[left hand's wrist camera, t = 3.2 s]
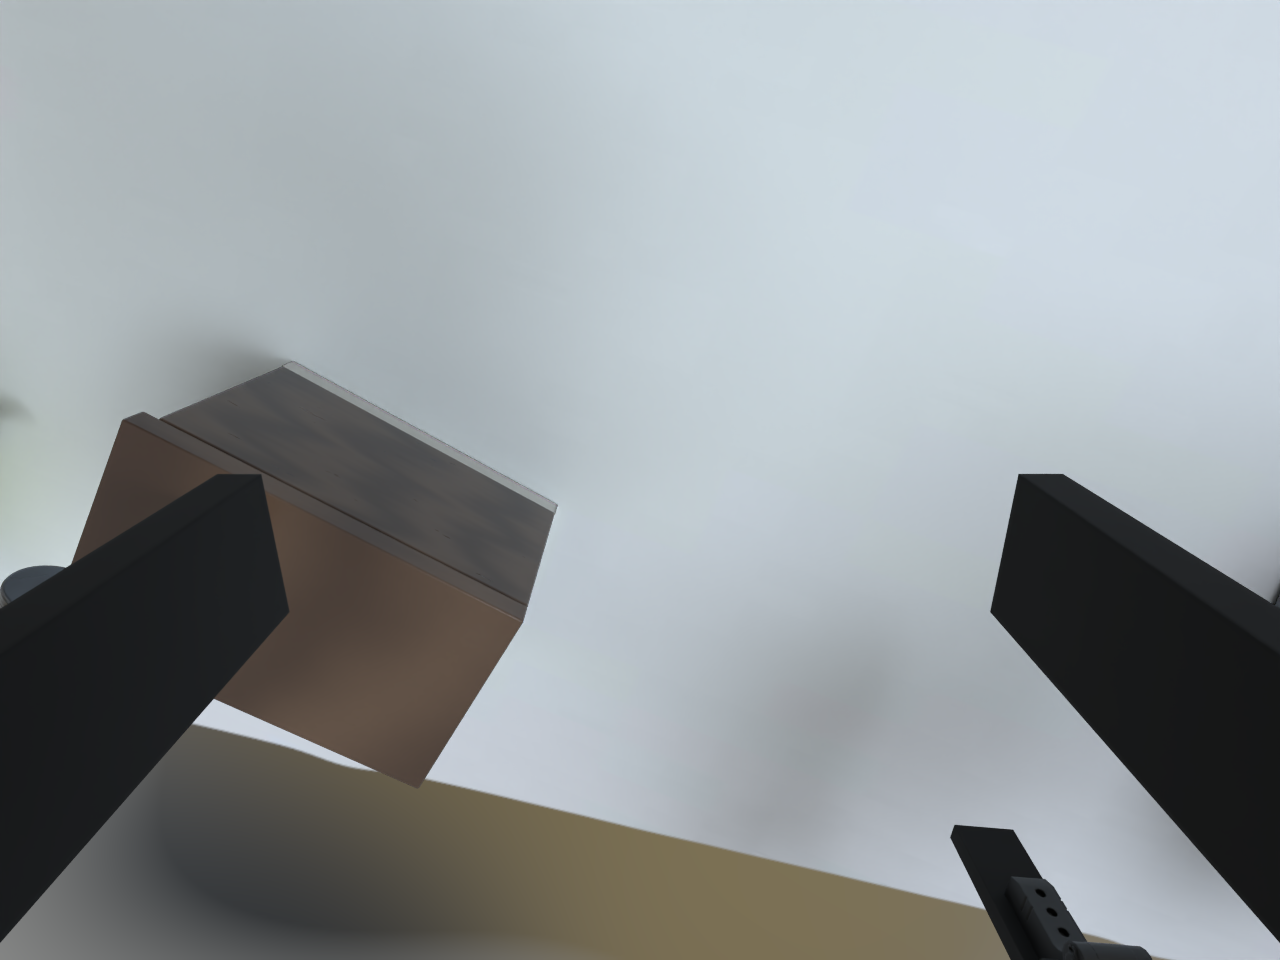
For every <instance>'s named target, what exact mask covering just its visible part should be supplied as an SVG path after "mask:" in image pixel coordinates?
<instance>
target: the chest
mask: <svg viewBox="0 0 1280 960" xmlns="http://www.w3.org/2000/svg"><path fill="white" fill-rule="evenodd" d="M159 420H161V421H163V422H165V423H167V424H169V425H171V426H172V427H174V428H176V429H178V430H180V431H182V432H184V433H186V434H188V435H190V436H192V437H194V438H196V439H198V440H200V441H202V442H204V443H206V444H208V445H210V446H212V447H214V448H216V449H218V450H220V451H222V452H224V453H226V454H228V455H229V456H231V457H233V458H235V459H237V460H239V461H241V462H243V463H245V464H247V465H249V466H251V467H253V468H255V469H257V470H259V471H261V472H263V473H265V474H267V475H269V476H271V477H273V478H275V479H277V480H279V481H281V482H283V483H284V484H286V485H288V486H290V487H292V488H294V489H296V490H298V491H300V492H302V493H304V494H306V495H308V496H310V497H312V498H314V499H316V500H318V501H320V502H322V503H324V504H326V505H328V506H330V507H332V508H334V509H336V510H338V511H340V512H341V513H343V514H345V515H347V516H349V517H351V518H353V519H355V520H357V521H359V522H361V523H363V524H365V525H367V526H369V527H371V528H373V529H375V530H377V531H379V532H381V533H383V534H385V535H387V536H389V537H391V538H393V539H395V540H397V541H398V542H400V543H402V544H404V545H406V546H408V547H410V548H412V549H414V550H416V551H418V552H420V553H422V554H424V555H426V556H428V557H430V558H432V559H434V560H436V561H438V562H440V563H442V564H444V565H446V566H448V567H450V568H452V569H453V570H455V571H457V572H459V573H461V574H463V575H465V576H467V577H469V578H471V579H473V580H475V581H477V582H479V583H481V584H483V585H485V586H487V587H489V588H491V589H493V590H495V591H497V592H499V593H501V594H503V595H505V596H507V597H509V598H510V599H512V600H514V601H516V602H518V603H520V604H522V605H524V606H526V607H528V603H529V600H530V596H531V593H532V590H533V586H534V583H535V579H536V576H537V572H538V569H539V566H540V562H541V559H542V555H543V552H544V548H545V545H546V542H547V538H548V535H549V531H550V528H551V524H552V521H553V518H554V515H555V513H556V509H557V506H558V505H557V504H555V503H553V502H551V501H550V500H548V499H546V498H544V497H542V496H540V495H539V494H537V493H535V492H533V491H531V490H529V489H527V488H526V487H524V486H522V485H520V484H518V483H516V482H515V481H513V480H511V479H509V478H507V477H505V476H504V475H502V474H500V473H498V472H496V471H494V470H492V469H491V468H489V467H487V466H485V465H483V464H481V463H480V462H478V461H476V460H474V459H472V458H470V457H469V456H467V455H465V454H463V453H461V452H459V451H457V450H456V449H454V448H452V447H450V446H448V445H446V444H445V443H443V442H441V441H439V440H437V439H435V438H434V437H432V436H430V435H428V434H426V433H424V432H423V431H421V430H419V429H417V428H415V427H413V426H411V425H410V424H408V423H406V422H404V421H402V420H400V419H399V418H397V417H395V416H393V415H391V414H389V413H388V412H386V411H384V410H382V409H380V408H378V407H376V406H375V405H373V404H371V403H369V402H367V401H365V400H364V399H362V398H360V397H358V396H356V395H354V394H353V393H351V392H349V391H347V390H345V389H343V388H341V387H340V386H338V385H336V384H334V383H332V382H330V381H329V380H327V379H325V378H323V377H321V376H319V375H318V374H316V373H314V372H312V371H310V370H308V369H306V368H305V367H303V366H301V365H299V364H297V363H295V362H294V361H292V362H290V363H288V364H285V365H283V366H282V367H281V368H278V369H276V370H273V371H271V372H269V373H266V374H264V375H262V376H259V377H257V378H254V379H252V380H250V381H247V382H245V383H242V384H240V385H238V386H235V387H233V388H231V389H228V390H226V391H223V392H221V393H219V394H216V395H214V396H212V397H209V398H207V399H204V400H202V401H200V402H197V403H195V404H193V405H190V406H188V407H185V408H183V409H181V410H178V411H176V412H174V413H171V414H169V415H166V416H164V417H162V418H160V419H159Z"/></svg>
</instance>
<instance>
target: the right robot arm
mask: <svg viewBox="0 0 1280 960" xmlns="http://www.w3.org/2000/svg"><path fill="white" fill-rule="evenodd" d="M1275 606H1276V607H1278V608H1280V595H1279V597H1278V599H1277V602H1276V604H1275ZM950 838H951V840H952V842H953V844H954V846H955V848H956V850H957V852H958V854H959V856H960V858H961V860H962V862H963V864H964V866H965V868H966V870H967V872H968V874H969V876H970V878H971V880H972V882H973V884H974V886H975V888H976V890H977V892H978V894H979V896H980V898H981V900H982V902H983V905H984V907H985V909H986V911H987V912H988V915H989V917H990V919H991V921H992V923H993V925H994V927H995V929H996V931H997V933H998V935H999V937H1000V939H1001V941H1002V943H1003V945H1004V947H1005V949H1006V951H1007V953H1008V955H1009V957H1010V959H1011V960H1152V958H1151V956H1150V955H1149V954H1148V952H1147V951H1146V950H1145V949H1143V948H1142V947H1140V946H1128V945H1120V944H1107V943H1094V942H1087V941H1086V939H1085V937H1084V936H1083V934H1082V932H1081V931H1080V929H1079V928H1078V926H1077V924H1076V923H1075V921H1074V919H1073V918H1072V916H1071V914H1070V913H1069V911H1067V908H1066V906H1065V905H1064V903H1063V901H1061V898H1060V896H1059V895H1058V893H1057V892H1056V890H1055V888H1054V887H1053V886H1052V885H1051V884H1050V883H1049V882H1048V881H1047V880H1046V879H1042V877H1041V875H1040V874H1039V872H1038V870H1037V869H1036V867H1035V865H1034V864H1033V862H1032V860H1031V859H1030V857H1029V855H1028V854H1027V852H1026V850H1025V849H1024V847H1023V845H1022V844H1021V842H1020V840H1019V839H1018V837H1017V835H1016V834H1015V832H1014V830H1010V829H998V828H986V827H974V826H962V825H954V828H953V831H952V834H951V837H950Z"/></svg>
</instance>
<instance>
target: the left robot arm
mask: <svg viewBox="0 0 1280 960" xmlns="http://www.w3.org/2000/svg"><path fill="white" fill-rule="evenodd" d="M289 612H290V611H289V606H288V602H287V597H286V592H285V587H284V582H283V577H282V572H281V567H280V563H279V558H278V553H277V548H276V543H275V538H274V533H273V528H272V523H271V519H270V514H269V509H268V504H267V499H266V494H265V489H264V484H263V480H262V475H261V474H216V475H215V476H213V477H212V478H210V479H208V480H207V481H205V482H204V483H202V484H200V485H199V486H197V487H195V488H194V489H192V490H191V491H189V492H187V493H186V494H184V495H183V496H181V497H179V498H178V499H176V500H175V501H173V502H171V503H170V504H168V505H166V506H165V507H163V508H162V509H160V510H158V511H157V512H155V513H154V514H152V515H150V516H149V517H147V518H146V519H144V520H142V521H141V522H139V523H137V524H136V525H134V526H133V527H131V528H129V529H128V530H126V531H125V532H123V533H121V534H120V535H118V536H116V537H115V538H113V539H112V540H110V541H108V542H107V543H105V544H104V545H102V546H100V547H99V548H97V549H96V550H94V551H92V552H91V553H89V554H87V555H86V556H84V557H83V558H81V559H79V560H78V561H76V562H75V563H73V564H71V565H70V566H68V567H67V568H65V569H63V570H62V571H60V572H58V573H57V574H55V575H54V576H52V577H50V578H49V579H47V580H46V581H44V582H42V583H41V584H39V585H38V586H36V587H34V588H33V589H31V590H29V591H28V592H26V593H25V594H23V595H21V596H20V597H18V598H17V599H15V600H13V601H12V602H10V603H9V604H7V605H5V606H4V607H2V608H0V942H1V941H2V940H3V939H4V938H5V937H6V935H7V934H8V933H9V932H10V931H11V930H12V929H13V927H14V926H15V925H16V924H17V923H18V922H19V921H20V919H21V918H22V917H23V916H24V915H25V914H26V913H27V911H28V910H29V909H30V908H31V907H32V906H33V905H34V903H35V902H36V901H37V900H38V899H39V898H40V897H41V895H42V894H43V893H44V892H45V891H46V890H47V889H48V887H49V886H50V885H51V884H52V883H53V882H54V881H55V879H56V878H57V877H58V876H59V875H60V874H61V873H62V871H63V870H64V869H65V868H66V867H67V866H68V865H69V863H70V862H71V861H72V860H73V859H74V858H75V857H76V856H77V854H78V853H79V852H80V851H81V850H82V849H83V848H84V846H85V845H86V844H87V843H88V842H89V841H90V839H91V838H92V837H93V836H94V835H95V834H96V833H97V832H98V830H99V829H100V828H101V827H102V826H103V825H104V823H105V822H106V821H107V820H108V819H109V818H110V817H111V816H112V814H113V813H114V812H115V811H116V810H117V809H118V807H119V806H120V805H121V804H122V803H123V802H124V801H125V800H126V798H127V797H128V796H129V795H130V794H131V793H132V791H133V790H134V789H135V788H136V787H137V786H138V785H139V783H140V782H141V781H142V780H143V779H144V778H145V777H146V776H147V774H148V773H149V772H150V771H151V770H152V769H153V768H154V766H155V765H156V764H157V763H158V762H159V761H160V760H161V758H162V757H163V756H164V755H165V754H166V753H167V752H168V750H169V749H170V748H171V747H172V746H173V745H174V744H175V742H176V741H177V740H178V739H179V738H180V737H181V736H182V734H183V733H184V732H185V731H186V730H187V729H188V728H189V726H190V725H191V724H192V723H193V722H194V721H195V720H196V718H197V717H198V716H199V715H200V714H201V713H202V712H203V710H204V709H205V708H206V707H207V706H208V705H209V704H210V702H211V701H212V700H213V699H214V698H215V697H216V696H217V694H218V693H219V692H220V691H221V690H222V689H223V688H224V686H225V685H226V684H227V683H228V682H229V681H230V680H231V678H232V677H233V676H234V675H235V674H236V673H237V672H238V670H239V669H240V668H241V667H242V666H243V665H244V664H245V662H246V661H247V660H248V659H249V658H250V657H251V656H252V654H253V653H254V652H255V651H256V650H257V649H258V648H259V646H260V645H261V644H262V643H263V642H264V641H265V640H266V638H267V637H268V636H269V635H270V634H271V633H272V632H273V630H274V629H275V628H276V627H277V626H278V625H279V624H280V622H281V621H282V620H283V619H284V618H285V617H286V616H287V614H288V613H289ZM990 612H991V613H992V614H993V616H994V617H995V618H996V619H997V620H998V621H999V622H1000V624H1001V625H1002V626H1003V627H1004V628H1005V629H1006V630H1007V632H1008V633H1009V634H1010V635H1011V636H1012V637H1013V638H1014V640H1015V641H1016V642H1017V643H1018V644H1019V645H1020V646H1021V648H1022V649H1023V650H1024V651H1025V652H1026V653H1027V654H1028V656H1029V657H1030V658H1031V659H1032V660H1033V661H1034V662H1035V664H1036V665H1037V666H1038V667H1039V668H1040V669H1041V670H1042V672H1043V673H1044V674H1045V675H1046V676H1047V677H1048V678H1049V680H1050V681H1051V682H1052V683H1053V684H1054V685H1055V686H1056V688H1057V689H1058V690H1059V691H1060V692H1061V693H1062V694H1063V696H1064V697H1065V698H1066V699H1067V700H1068V701H1069V702H1070V704H1071V705H1072V706H1073V707H1074V708H1075V709H1076V710H1077V712H1078V713H1079V714H1080V715H1081V716H1082V717H1083V718H1084V720H1085V721H1086V722H1087V723H1088V724H1089V725H1090V726H1091V728H1092V729H1093V730H1094V731H1095V732H1096V733H1097V734H1098V736H1099V737H1100V738H1101V739H1102V740H1103V741H1104V742H1105V744H1106V745H1107V746H1108V747H1109V748H1110V749H1111V750H1112V752H1113V753H1114V754H1115V755H1116V756H1117V757H1118V758H1119V760H1120V761H1121V762H1122V763H1123V764H1124V765H1125V766H1126V768H1127V769H1128V770H1129V771H1130V772H1131V773H1132V774H1133V776H1134V777H1135V778H1136V779H1137V780H1138V781H1139V782H1140V784H1141V785H1142V786H1143V787H1144V788H1145V789H1146V790H1147V792H1148V793H1149V794H1150V795H1151V796H1152V797H1153V798H1154V800H1155V801H1156V802H1157V803H1158V804H1159V805H1160V806H1161V808H1162V809H1163V810H1164V811H1165V812H1166V813H1167V814H1168V816H1169V817H1170V818H1171V819H1172V820H1173V821H1174V822H1175V824H1176V825H1177V826H1178V827H1179V828H1180V829H1181V830H1182V832H1183V833H1184V834H1185V835H1186V836H1187V837H1188V838H1189V840H1190V841H1191V842H1192V843H1193V844H1194V845H1195V846H1196V848H1197V849H1198V850H1199V851H1200V852H1201V853H1202V854H1203V856H1204V857H1205V858H1206V859H1207V860H1208V861H1209V862H1210V863H1211V865H1212V866H1213V867H1214V868H1215V869H1216V870H1217V871H1218V873H1219V874H1220V875H1221V876H1222V877H1223V878H1224V879H1225V881H1226V882H1227V883H1228V884H1229V885H1230V886H1231V887H1232V889H1233V890H1234V891H1235V892H1236V893H1237V894H1238V895H1239V897H1240V898H1241V899H1242V900H1243V901H1244V902H1245V903H1246V905H1247V906H1248V907H1249V908H1250V909H1251V910H1252V911H1253V913H1254V914H1255V915H1256V916H1257V917H1258V918H1259V919H1260V921H1261V922H1262V923H1263V924H1264V925H1265V926H1266V927H1267V929H1268V930H1269V931H1270V932H1271V933H1272V934H1273V935H1274V937H1275V938H1276V939H1277V940H1278V941H1279V942H1280V608H1278V607H1276V606H1275V605H1273V604H1271V603H1270V602H1268V601H1267V600H1265V599H1263V598H1262V597H1260V596H1259V595H1257V594H1255V593H1254V592H1252V591H1251V590H1249V589H1247V588H1246V587H1244V586H1242V585H1241V584H1239V583H1238V582H1236V581H1234V580H1233V579H1231V578H1230V577H1228V576H1226V575H1225V574H1223V573H1222V572H1220V571H1218V570H1217V569H1215V568H1213V567H1212V566H1210V565H1209V564H1207V563H1205V562H1204V561H1202V560H1201V559H1199V558H1197V557H1196V556H1194V555H1193V554H1191V553H1189V552H1188V551H1186V550H1184V549H1183V548H1181V547H1180V546H1178V545H1176V544H1175V543H1173V542H1172V541H1170V540H1168V539H1167V538H1165V537H1164V536H1162V535H1160V534H1159V533H1157V532H1155V531H1154V530H1152V529H1151V528H1149V527H1147V526H1146V525H1144V524H1143V523H1141V522H1139V521H1138V520H1136V519H1134V518H1133V517H1131V516H1130V515H1128V514H1126V513H1125V512H1123V511H1122V510H1120V509H1118V508H1117V507H1115V506H1114V505H1112V504H1110V503H1109V502H1107V501H1105V500H1104V499H1102V498H1101V497H1099V496H1097V495H1096V494H1094V493H1093V492H1091V491H1089V490H1088V489H1086V488H1085V487H1083V486H1081V485H1080V484H1078V483H1076V482H1075V481H1073V480H1072V479H1070V478H1068V477H1067V476H1065V475H1064V474H1019V475H1018V480H1017V484H1016V489H1015V494H1014V499H1013V504H1012V509H1011V514H1010V519H1009V523H1008V528H1007V533H1006V538H1005V543H1004V548H1003V553H1002V558H1001V563H1000V567H999V572H998V577H997V582H996V587H995V592H994V597H993V602H992V606H991V611H990Z"/></svg>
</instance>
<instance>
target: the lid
mask: <svg viewBox="0 0 1280 960" xmlns="http://www.w3.org/2000/svg"><path fill="white" fill-rule="evenodd" d="M216 474H261V475H262V480H263V484H264V489H265V494H266V499H267V504H268V509H269V514H270V519H271V523H272V528H273V533H274V538H275V543H276V548H277V553H278V558H279V563H280V567H281V572H282V577H283V582H284V587H285V592H286V597H287V602H288V606H289V611H290V612H289V613H288V614H287V616H286V617H285V618H284V619H283V620H282V621H281V622H280V624H279V625H278V626H277V627H276V628H275V629H274V630H273V632H272V633H271V634H270V635H269V636H268V637H267V638H266V640H265V641H264V642H263V643H262V644H261V645H260V646H259V648H258V649H257V650H256V651H255V652H254V653H253V654H252V656H251V657H250V658H249V659H248V660H247V661H246V662H245V664H244V665H243V666H242V667H241V668H240V669H239V670H238V672H237V673H236V674H235V675H234V676H233V677H232V678H231V680H230V681H229V682H228V683H227V684H226V685H225V686H224V688H223V689H222V690H221V691H220V692H219V693H218V694H217V696H216V697H215V698H214V699H216V700H218V701H220V702H223V703H225V704H227V705H229V706H232V707H234V708H236V709H238V710H241V711H243V712H245V713H248V714H250V715H252V716H254V717H257V718H259V719H261V720H263V721H266V722H268V723H270V724H272V725H275V726H277V727H279V728H281V729H284V730H286V731H288V732H290V733H293V734H295V735H297V736H299V737H302V738H304V739H306V740H309V741H311V742H313V743H315V744H318V745H320V746H322V747H324V748H327V749H329V750H331V751H333V752H336V753H338V754H340V755H342V756H345V757H347V758H349V759H351V760H354V761H356V762H358V763H361V764H363V765H365V766H367V767H370V768H372V769H374V770H376V771H379V772H381V773H383V774H385V775H388V776H390V777H392V778H394V779H397V780H399V781H401V782H403V783H406V784H408V785H410V786H413V787H415V788H419V787H420V785H421V784H422V782H423V781H424V779H425V777H426V776H427V774H428V773H429V771H430V769H431V768H432V766H433V765H434V763H435V761H436V760H437V758H438V757H439V755H440V754H441V752H442V750H443V749H444V747H445V746H446V744H447V742H448V741H449V739H450V738H451V736H452V734H453V733H454V731H455V730H456V728H457V726H458V725H459V723H460V722H461V720H462V719H463V717H464V715H465V714H466V712H467V711H468V709H469V707H470V706H471V704H472V703H473V701H474V699H475V698H476V696H477V695H478V693H479V691H480V690H481V688H482V687H483V685H484V683H485V682H486V680H487V679H488V677H489V676H490V674H491V672H492V671H493V669H494V668H495V666H496V664H497V663H498V661H499V660H500V658H501V656H502V655H503V653H504V652H505V650H506V648H507V647H508V645H509V644H510V642H511V641H512V639H513V637H514V636H515V634H516V633H517V631H518V629H519V628H520V626H521V625H522V623H523V621H524V617H525V614H526V610H527V607H526V606H524V605H522V604H520V603H518V602H516V601H514V600H512V599H510V598H509V597H507V596H505V595H503V594H501V593H499V592H497V591H495V590H493V589H491V588H489V587H487V586H485V585H483V584H481V583H479V582H477V581H475V580H473V579H471V578H469V577H467V576H465V575H463V574H461V573H459V572H457V571H455V570H453V569H452V568H450V567H448V566H446V565H444V564H442V563H440V562H438V561H436V560H434V559H432V558H430V557H428V556H426V555H424V554H422V553H420V552H418V551H416V550H414V549H412V548H410V547H408V546H406V545H404V544H402V543H400V542H398V541H397V540H395V539H393V538H391V537H389V536H387V535H385V534H383V533H381V532H379V531H377V530H375V529H373V528H371V527H369V526H367V525H365V524H363V523H361V522H359V521H357V520H355V519H353V518H351V517H349V516H347V515H345V514H343V513H341V512H340V511H338V510H336V509H334V508H332V507H330V506H328V505H326V504H324V503H322V502H320V501H318V500H316V499H314V498H312V497H310V496H308V495H306V494H304V493H302V492H300V491H298V490H296V489H294V488H292V487H290V486H288V485H286V484H284V483H283V482H281V481H279V480H277V479H275V478H273V477H271V476H269V475H267V474H265V473H263V472H261V471H259V470H257V469H255V468H253V467H251V466H249V465H247V464H245V463H243V462H241V461H239V460H237V459H235V458H233V457H231V456H229V455H228V454H226V453H224V452H222V451H220V450H218V449H216V448H214V447H212V446H210V445H208V444H206V443H204V442H202V441H200V440H198V439H196V438H194V437H192V436H190V435H188V434H186V433H184V432H182V431H180V430H178V429H176V428H174V427H172V426H171V425H169V424H167V423H165V422H163V421H161V420H159V419H157V418H155V417H153V416H151V415H149V414H147V413H145V412H141V413H138V414H136V415H133V416H130V417H128V418H125V419H123V420H122V422H121V425H120V428H119V431H118V434H117V437H116V439H115V442H114V445H113V448H112V451H111V454H110V456H109V459H108V462H107V465H106V468H105V470H104V473H103V476H102V479H101V482H100V485H99V487H98V490H97V493H96V496H95V499H94V502H93V504H92V507H91V510H90V513H89V516H88V519H87V521H86V524H85V527H84V530H83V533H82V535H81V538H80V541H79V544H78V547H77V550H76V552H75V555H74V558H73V561H72V564H73V563H75V562H76V561H78V560H79V559H81V558H83V557H84V556H86V555H87V554H89V553H91V552H92V551H94V550H96V549H97V548H99V547H100V546H102V545H104V544H105V543H107V542H108V541H110V540H112V539H113V538H115V537H116V536H118V535H120V534H121V533H123V532H125V531H126V530H128V529H129V528H131V527H133V526H134V525H136V524H137V523H139V522H141V521H142V520H144V519H146V518H147V517H149V516H150V515H152V514H154V513H155V512H157V511H158V510H160V509H162V508H163V507H165V506H166V505H168V504H170V503H171V502H173V501H175V500H176V499H178V498H179V497H181V496H183V495H184V494H186V493H187V492H189V491H191V490H192V489H194V488H195V487H197V486H199V485H200V484H202V483H204V482H205V481H207V480H208V479H210V478H212V477H213V476H215V475H216ZM63 569H65V567H59V566H33V567H28V568H24V569H21V570H18V571H16V572H14V573H13V574H11V575H10V576H8V577H7V578H6V579H5V580H4V581H3V583H2V585H1V588H0V608H2V607H4V606H5V605H7V604H9V603H10V602H12V601H13V600H15V599H17V598H18V597H20V596H21V595H23V594H25V593H26V592H28V591H29V590H31V589H33V588H34V587H36V586H38V585H39V584H41V583H42V582H44V581H46V580H47V579H49V578H50V577H52V576H54V575H55V574H57V573H58V572H60V571H62V570H63Z"/></svg>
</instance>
